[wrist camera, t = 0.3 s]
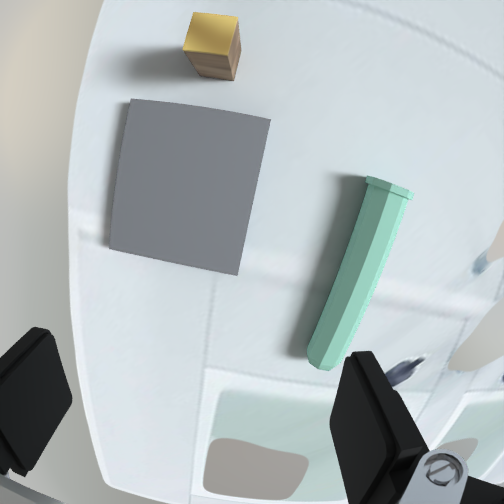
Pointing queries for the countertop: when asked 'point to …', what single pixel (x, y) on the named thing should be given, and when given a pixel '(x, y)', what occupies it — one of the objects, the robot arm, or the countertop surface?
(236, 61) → the block
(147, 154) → the board
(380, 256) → the container
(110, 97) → the countertop surface
